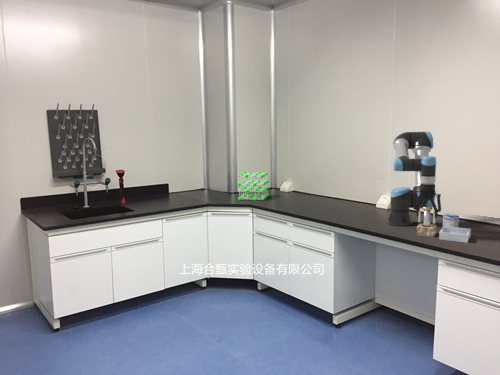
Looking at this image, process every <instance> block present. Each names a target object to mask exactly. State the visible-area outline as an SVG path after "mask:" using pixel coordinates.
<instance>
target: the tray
mask: <svg viewBox="0 0 500 375" xmlns="http://www.w3.org/2000/svg"><path fill="white" fill-rule="evenodd" d="M471 232H472V228H468V227H467V228H466V227H459V226H458V227H448V226H444V227H443V226H442V228H441V229H440V230H439V232H438V239H439V240H442V241H449V242H460V243H468V242H469V240H470V238H471V235H472V233H471Z"/></svg>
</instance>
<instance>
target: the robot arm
mask: <svg viewBox="0 0 500 375" xmlns="http://www.w3.org/2000/svg"><path fill="white" fill-rule="evenodd" d="M392 144H393V149H394V151H395V158H394V159H393V170H394V172H414V174H415V176H414V179H415V182H414V183H415V185H414V186H413V187H412V189H411V188H410V187H406V186H404V187H403V186H402V187H397V188H395V187H394V188H393V189H391V191H390V208H389V214H388V217H387V221H386V222H387V224H388V225H391V226H397V227H402V226H403V227H408V226H412V224H413V220H412V216H411V214H410V209H413V210H415V211H416V217H418V219H417V220H418V221H417V222H418V223H421V221H422V210H421V209H422V207H423V206H430V207H432V209H433V210H434V211H433V213H432V215H433V217H432V225H436V219H437V218H438V215H439V214H438V213H440V212H441V211H442V203H441V196H442V195H441V193H436V192H437V191H436V174H437V173H436V171H437V169H436V168H437V158H436V156H432V155H431V156H429V155H430V154H429V153H430V152H431V150H432V149H433V148H434V138H433V134H432V133H431V132H430V131H425V130H424V131H406V132H402V133H400V134H398V136H396V137H395V138H394V140H393V143H392ZM409 150H411V151H412V153H413V154H414V158H410V154H409ZM436 200H437V205H436V203H435V201H436Z"/></svg>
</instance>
